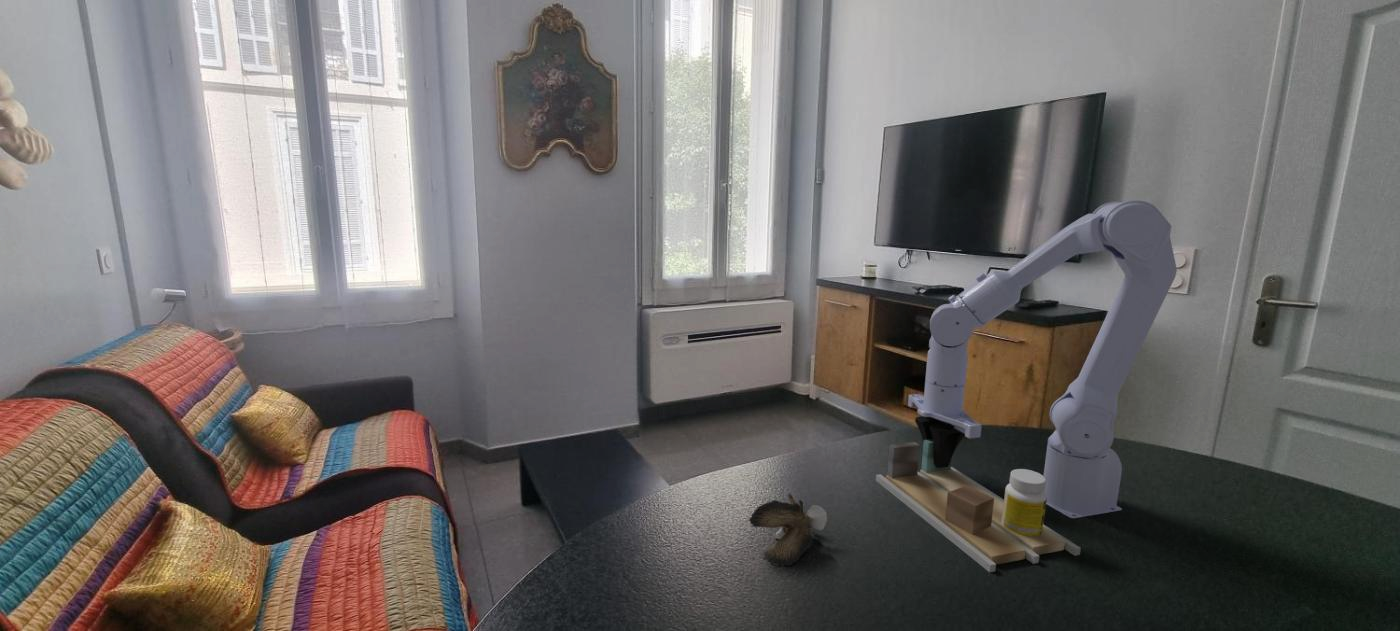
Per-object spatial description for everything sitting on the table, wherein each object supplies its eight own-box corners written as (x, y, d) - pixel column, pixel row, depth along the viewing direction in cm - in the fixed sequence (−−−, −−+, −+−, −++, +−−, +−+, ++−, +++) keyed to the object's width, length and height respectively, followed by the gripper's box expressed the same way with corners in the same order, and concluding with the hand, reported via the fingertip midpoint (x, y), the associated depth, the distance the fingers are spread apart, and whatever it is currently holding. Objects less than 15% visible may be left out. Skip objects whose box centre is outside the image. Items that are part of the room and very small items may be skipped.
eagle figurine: (772, 511, 80) (735, 527, 73) (802, 478, 77) (768, 491, 70) (809, 558, 76) (774, 580, 69) (842, 524, 73) (810, 543, 66)
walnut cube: (963, 512, 79) (966, 485, 78) (991, 526, 75) (994, 498, 75) (945, 520, 77) (947, 492, 76) (972, 534, 73) (975, 505, 73)
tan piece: (945, 473, 93) (949, 437, 92) (1063, 549, 72) (1070, 504, 71) (919, 476, 92) (922, 440, 91) (1032, 556, 71) (1038, 510, 70)
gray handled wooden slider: (913, 478, 91) (916, 441, 90) (1024, 559, 70) (1030, 512, 69) (885, 482, 90) (888, 445, 89) (991, 565, 69) (996, 518, 68)
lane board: (948, 473, 94) (949, 465, 94) (1079, 558, 71) (1080, 547, 71) (875, 483, 91) (876, 474, 90) (989, 576, 68) (990, 565, 68)
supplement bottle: (1047, 546, 73) (1055, 487, 71) (1006, 542, 74) (1014, 483, 72) (1033, 525, 78) (1041, 468, 76) (995, 521, 78) (1002, 465, 77)
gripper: (894, 370, 94) (889, 447, 97) (955, 398, 81) (947, 487, 83) (931, 367, 96) (924, 443, 99) (997, 394, 83) (987, 482, 85)
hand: (937, 463), depth 91 cm, fingers closed
